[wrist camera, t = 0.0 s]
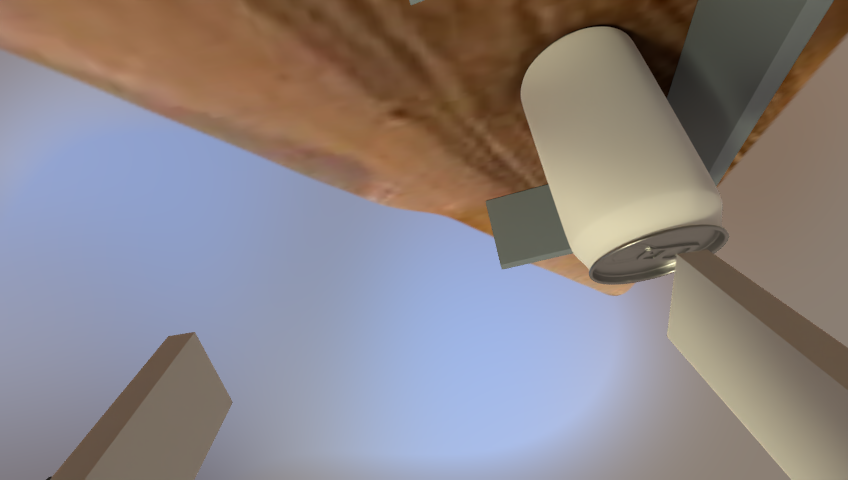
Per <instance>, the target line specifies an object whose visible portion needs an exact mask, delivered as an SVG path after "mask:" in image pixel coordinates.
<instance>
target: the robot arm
mask: <svg viewBox="0 0 848 480" xmlns="http://www.w3.org/2000/svg"><path fill="white" fill-rule="evenodd" d="M667 337H668V338H669V339H670V340H671V341H672V343H673V344H674V345H675V346H676V347H677V348H678V350H679V351H680V352H681V353H682V354H683V355H684V357H685V358H686V359H687V360H688V361H689V362H690V364H691V365H692V366H693V367H694V368H695V369H696V370H697V372H698V373H699V374H700V375H701V376H702V377H703V378H704V380H706V382H707V383H708V384H709V385H710V386H711V388H712V389H713V390H714V391H715V392H716V393H717V395H718V396H719V397H720V398H721V399H722V400H723V401H724V403H725V404H726V405H727V406H728V407H729V408H730V409H731V411H732V412H733V413H734V414H735V415H736V416H737V418H738V419H740V421H741V422H742V423H743V424H744V426H745V427H746V428H747V429H748V430H749V431H750V433H751V434H752V435H753V436H754V437H755V438H756V439H757V440H758V442H759V443H760V444H761V445H762V446H763V447H764V449H765V450H766V451H767V452H768V453H769V454H770V456H771V457H772V458H773V459H774V460H775V461H776V462H777V464H778V465H779V466H780V467H781V468H782V469H783V470H784V472H785V473H786V474H787V475H788V476H789V477H790V478H791V480H848V348H847V347H846V346H844V345H843V344H842V343H840V342H838V341H837V340H836V339H834V338H833V337H832V336H830V335H829V334H827V333H826V332H824V331H823V330H822V329H820V328H819V327H817V326H816V325H814V324H813V323H811V322H810V321H809V320H807V319H806V318H804V317H803V316H802V315H800V314H799V313H797V312H796V311H794V310H793V309H792V308H790V307H789V306H787V305H786V304H784V303H783V302H781V301H780V300H779V299H777V298H776V297H774V296H773V295H771V294H770V293H769V292H767V291H766V290H764V289H763V288H761V287H760V286H759V285H757V284H756V283H754V282H753V281H751V280H750V279H749V278H747V277H746V276H744V275H743V274H742V273H740V272H738V271H737V270H736V269H734V268H733V267H732V266H730V265H729V264H727V263H726V262H724V261H723V260H722V259H720V258H719V257H717V256H716V255H714V254H713V253H712V252H710V251H709V250H707V249H706V250H700V251H694V252H688V253H681V254H677V259H676V267H675V275H674V283H673V292H672V299H671V307H670V316H669V324H668V332H667ZM231 405H232V400H231V398H230V396H229V395H228V393H227V391H226V389H225V387H224V385H223V383H222V382H221V380H220V378H219V376H218V374H217V372H216V370H215V369H214V367H213V365H212V363H211V361H210V359H209V358H208V356H207V354H206V352H205V350H204V348H203V346H202V345H201V343H200V341H199V339H198V337H197V336H196V334H195V332H192V333H186V334H180V335H174V336H168V337H167V339H166V340H165V341H164V342H163V343H162V345H161V346H160V347H159V348H158V349H157V351H156V352H155V353H154V354H153V356H152V357H151V358H150V359H149V360H148V362H147V363H146V364H145V365H144V366H143V368H142V369H141V370H140V371H139V372H138V374H137V375H136V376H135V377H134V379H133V380H132V381H131V382H130V383H129V385H128V386H127V387H126V388H125V390H124V391H123V392H122V393H121V394H120V395H119V397H118V398H117V399H116V400H115V402H114V403H113V404H112V405H111V407H110V408H109V409H108V410H107V411H106V413H105V414H104V415H103V416H102V417H101V418H100V420H99V421H98V422H97V423H96V425H95V426H94V427H93V428H92V429H91V431H90V432H89V433H88V434H87V435H86V437H85V438H84V439H83V440H82V442H81V443H80V444H79V445H78V446H77V448H76V449H75V450H74V451H73V452H72V454H71V455H70V456H69V457H68V458H67V460H66V461H65V462H64V463H63V465H62V466H61V467H60V468H59V470H58V471H57V472H56V473H55V474H54V475H53V477H49V478H48V479H46V480H194V479H195V477H196V475H197V473H198V471H199V469H200V467H201V465H202V463H203V461H204V459H205V457H206V455H207V453H208V451H209V449H210V447H211V445H212V443H213V441H214V439H215V437H216V435H217V433H218V431H219V428H220V427H221V425H222V423H223V421H224V419H225V417H226V414H227V413H228V411H229V409H230V406H231Z"/></svg>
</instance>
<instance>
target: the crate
mask: <svg viewBox="0 0 848 480" xmlns="http://www.w3.org/2000/svg"><path fill="white" fill-rule="evenodd" d="M409 1H410V4H411V5H413V4H415V3H418V2H421V1H423V0H409ZM833 1H834V0H698V2H697V6H696V9H695V12H694V15H693V18H692V21H691V24H690V27H689V31H688V34H687V37H686V40H685V43H684V46H683V49H682V52H681V56H680V59H679V62H678V65H677V68H676V71H675V74H674V78H673V81H672V84H671V87H670V90H669V93H668V96H667V100H668V102H669V104H670V106H671V107H672V109H673V111H674V113H675V114H676V116H677V118H678V120H679V121H680V123H681V125H682V127H683V128H684V130H685V132H686V134H687V135H688V137H689V139H690V141H691V142H692V144H693V146H694V148H695V149H696V151H697V153H698V155H699V157H700V158H701V160H702V162H703V164H704V165H705V167H706V169H707V171H708V173H709V174H710V176H711V178H712V180H713V182H714V183H715V185H716V186H717V185H718V183H719V181H720V180H721V178H722V177H723V175H724V174H725V172H726V170H727V169H728V167H729V166H730V164H731V162H732V161H733V159H734V158H735V156H736V155H737V153H738V151H739V150H740V148H741V147H742V145H743V143H744V142H745V140H746V139H747V137H748V136H749V134H750V132H751V131H752V129H753V128H754V126H755V124H756V123H757V121H758V120H759V118H760V117H761V115H762V113H763V112H764V110H765V109H766V107H767V105H768V104H769V102H770V101H771V99H772V98H773V96H774V94H775V93H776V91H777V90H778V88H779V86H780V85H781V83H782V82H783V80H784V79H785V77H786V75H787V74H788V72H789V71H790V69H791V67H792V66H793V64H794V63H795V61H796V60H797V58H798V56H799V55H800V53H801V52H802V50H803V48H804V47H805V45H806V44H807V42H808V41H809V39H810V37H811V36H812V34H813V33H814V31H815V29H816V28H817V26H818V25H819V23H820V22H821V20H822V18H823V17H824V15H825V14H826V12H827V11H828V9H829V7H830V6H831V4H832V3H833ZM486 205H487V209H488V214H489V218H490V222H491V226H492V230H493V235H494V239H495V243H496V247H497V252H498V256H499V260H500V264H501V267H502V269H507V268H511V267H515V266H520V265H524V264H528V263H533V262H537V261H541V260H546V259H550V258H554V257H559V256H563V255H567V254H572V253H573V252H572V250H571V248H570V245H569V243H568V240H567V237H566V235H565V232H564V229H563V226H562V223H561V220H560V217H559V214H558V211H557V208H556V205H555V202H554V199H553V196H552V193H551V190H550V187H549V184H548V185H544V186H540V187H537V188H533V189H529V190H525V191H522V192H518V193H514V194H510V195H507V196H503V197H499V198H496V199H492V200H488V201H486Z"/></svg>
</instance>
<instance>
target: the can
mask: <svg viewBox="0 0 848 480" xmlns="http://www.w3.org/2000/svg"><path fill="white" fill-rule="evenodd" d="M521 101H522V105H523V108H524V112H525V115H526V118H527V121H528V124H529V127H530V130H531V133H532V136H533V139H534V142H535V145H536V148H537V151H538V154H539V157H540V160H541V163H542V166H543V169H544V172H545V175H546V178H547V181H548V184H549V187H550V190H551V193H552V196H553V199H554V202H555V205H556V208H557V211H558V214H559V217H560V220H561V223H562V226H563V229H564V232H565V235H566V237H567V240H568V243H569V245H570V248H571V250H572V252H573V253H574V254H575V256H576V257H577V258H578V259H579V260H580V261H581V262H582V263H583V264H585V265H586V266H587V268H588V269H589V276H590V278H591V279H592V280H593V281H595V282H597V283H601V284H627V283H634V282H640V281H645V280H650V279H654V278H657V277H661V276H664V275H668V274H671V273H674V272H675V267H676V259H677V254H681V253H688V252H694V251H700V250H706V249H707V250H709V251H710V252H712V253H713V254H714V253H716V252H717V251H718V250H720V249H721V248H722V247H723V246H724V245H725V244H726V242H727V241H728V238H729V234H728V232H727V230H726V229H724V228H722V208H723V207H722V206H723V204H722V198H721V196H720V193H719V191H718V189H717V187H716V185H715V183H714V182H713V180H712V178H711V176H710V174H709V173H708V171H707V169H706V167H705V165H704V164H703V162H702V160H701V158H700V157H699V155H698V153H697V151H696V149H695V148H694V146H693V144H692V142H691V141H690V139H689V137H688V135H687V134H686V132H685V130H684V128H683V127H682V125H681V123H680V121H679V120H678V118H677V116H676V114H675V113H674V111H673V109H672V107H671V106H670V104H669V102H668V100H667V99H666V97H665V95H664V93H663V92H662V90H661V88H660V86H659V85H658V83H657V81H656V80H655V78H654V76H653V74H652V73H651V71H650V69H649V67H648V66H647V64H646V62H645V61H644V59H643V57H642V55H641V54H640V52H639V50H638V49H637V47H636V45H635V44H634V42H633V41H632V39H631V38H630V37H629V36H628V35H627V34H626V33H625V32H623V31H621V30H619V29H616V28H613V27H604V26H600V27H590V28H584V29H580V30H577V31H574V32H571V33H569V34H567V35H565V36H563V37H561V38H559V39H558V40H556V41H554V42H553V43H552V44H550V45H549V46H548V47H547V48H545V49H544V50H543V51H542V52H541V53H540V54H539V55H538V56H537V57H536V58H535V60H534V61H533V62H532V64H531V65H530V66H529V68H528V70H527V72H526V74H525V76H524V78H523V82H522V86H521Z"/></svg>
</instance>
